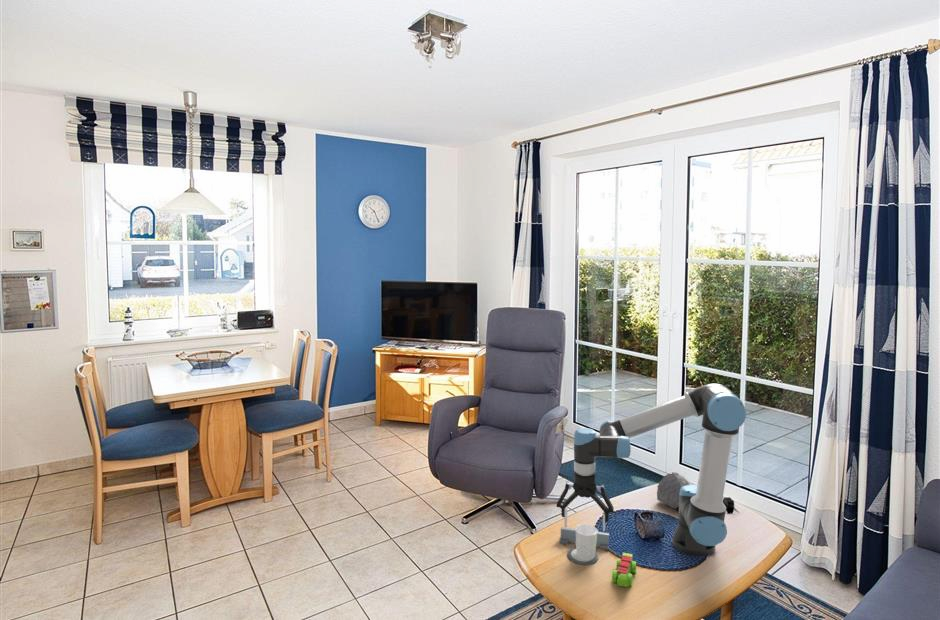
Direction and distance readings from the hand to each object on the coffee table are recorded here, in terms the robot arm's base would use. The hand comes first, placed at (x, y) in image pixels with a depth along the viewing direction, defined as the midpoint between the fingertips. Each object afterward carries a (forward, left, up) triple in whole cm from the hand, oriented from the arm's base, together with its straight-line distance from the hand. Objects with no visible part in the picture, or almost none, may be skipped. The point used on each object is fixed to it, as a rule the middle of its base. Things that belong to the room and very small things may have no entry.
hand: (584, 527), depth 205 cm
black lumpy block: (-57, -53, -12) cm, 79 cm away
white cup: (-1, 0, -11) cm, 11 cm away
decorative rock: (-36, -49, -12) cm, 62 cm away
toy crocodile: (-14, +9, -12) cm, 20 cm away
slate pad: (0, 0, -11) cm, 11 cm away
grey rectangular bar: (0, -9, -11) cm, 14 cm away
